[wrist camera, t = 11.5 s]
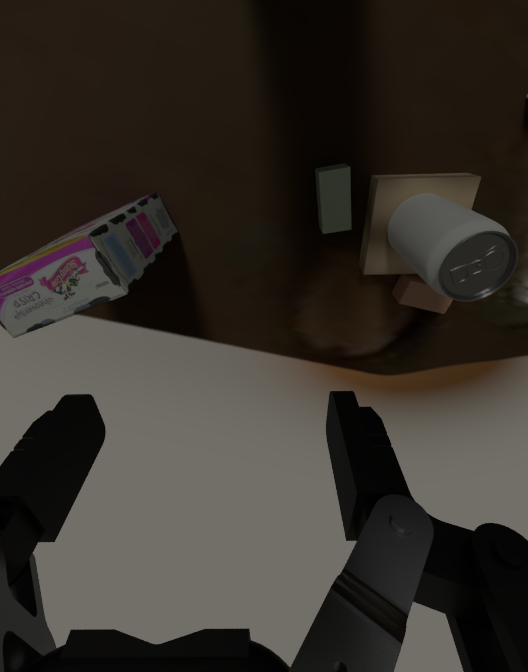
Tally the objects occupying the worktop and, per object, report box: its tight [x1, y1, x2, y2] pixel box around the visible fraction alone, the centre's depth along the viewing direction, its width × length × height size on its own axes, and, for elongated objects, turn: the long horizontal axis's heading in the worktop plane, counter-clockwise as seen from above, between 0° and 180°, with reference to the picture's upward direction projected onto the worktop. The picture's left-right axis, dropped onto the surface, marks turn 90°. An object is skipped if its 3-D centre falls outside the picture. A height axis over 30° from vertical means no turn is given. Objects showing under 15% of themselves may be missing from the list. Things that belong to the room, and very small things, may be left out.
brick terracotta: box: [392, 274, 453, 314], centre depth 41 cm, size 6×3×3 cm, turn 76°
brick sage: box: [315, 163, 351, 234], centre depth 35 cm, size 6×3×3 cm, turn 9°
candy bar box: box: [0, 192, 178, 338], centre depth 31 cm, size 11×5×16 cm, turn 112°
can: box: [387, 193, 518, 302], centre depth 30 cm, size 6×6×12 cm
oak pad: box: [359, 173, 481, 275], centre depth 36 cm, size 10×10×2 cm
